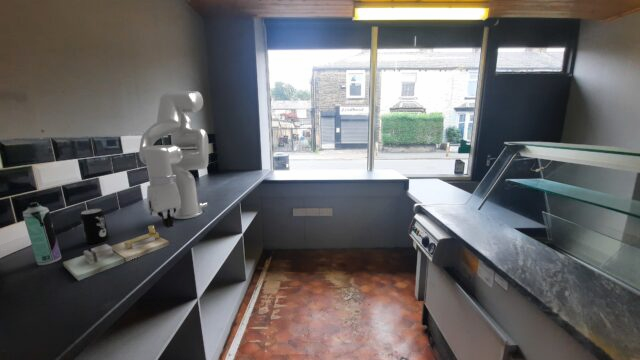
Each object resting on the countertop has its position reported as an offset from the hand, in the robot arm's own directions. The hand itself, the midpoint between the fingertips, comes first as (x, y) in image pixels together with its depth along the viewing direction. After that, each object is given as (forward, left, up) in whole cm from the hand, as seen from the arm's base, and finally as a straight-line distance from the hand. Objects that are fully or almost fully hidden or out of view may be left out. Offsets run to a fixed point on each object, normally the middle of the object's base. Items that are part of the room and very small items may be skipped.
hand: (168, 226), depth 98 cm
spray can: (+30, -16, -5) cm, 35 cm away
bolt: (+9, 0, -3) cm, 10 cm away
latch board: (+16, 0, -4) cm, 17 cm away
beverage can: (+16, -21, -5) cm, 27 cm away
